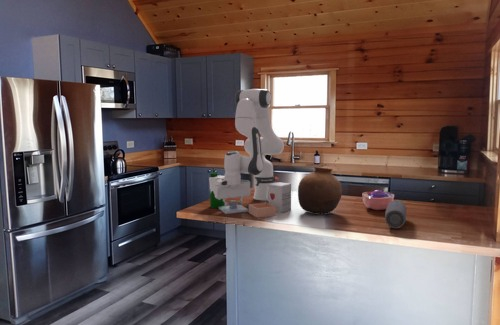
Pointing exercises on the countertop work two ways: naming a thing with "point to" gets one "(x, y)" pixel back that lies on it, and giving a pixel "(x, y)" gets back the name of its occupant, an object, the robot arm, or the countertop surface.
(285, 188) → the supplement box
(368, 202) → the cell model
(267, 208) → the dish
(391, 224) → the bluetooth speaker
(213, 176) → the milk carton
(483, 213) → the countertop surface
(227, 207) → the lid
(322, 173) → the pottery
